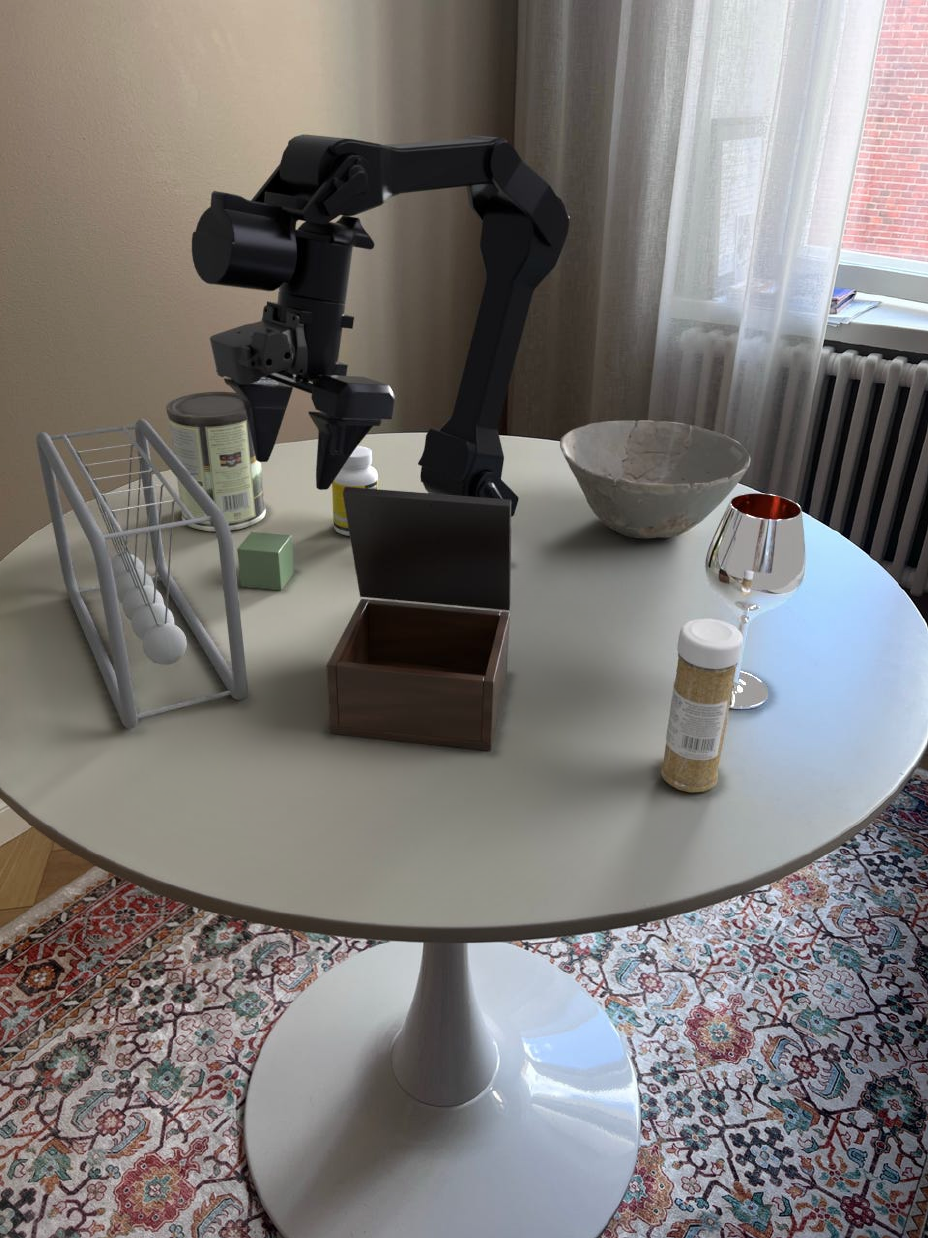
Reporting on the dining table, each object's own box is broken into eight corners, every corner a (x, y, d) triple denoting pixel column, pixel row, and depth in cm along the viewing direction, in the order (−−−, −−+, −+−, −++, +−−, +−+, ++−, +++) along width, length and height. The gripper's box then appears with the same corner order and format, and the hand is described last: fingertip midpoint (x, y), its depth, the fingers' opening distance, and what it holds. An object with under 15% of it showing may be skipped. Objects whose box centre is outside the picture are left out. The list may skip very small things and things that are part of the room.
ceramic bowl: (673, 482, 135) (682, 411, 130) (775, 551, 116) (791, 471, 111) (524, 501, 128) (528, 427, 123) (608, 578, 109) (616, 494, 104)
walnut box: (490, 751, 81) (493, 681, 78) (330, 733, 83) (326, 665, 79) (506, 676, 91) (510, 611, 88) (363, 661, 93) (360, 598, 89)
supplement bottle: (371, 540, 116) (369, 461, 112) (327, 535, 117) (323, 456, 113) (384, 522, 121) (382, 445, 116) (341, 517, 122) (338, 441, 117)
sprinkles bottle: (722, 769, 80) (749, 624, 73) (709, 802, 76) (737, 652, 69) (667, 753, 81) (689, 610, 75) (652, 785, 78) (673, 637, 71)
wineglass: (675, 666, 93) (702, 488, 84) (759, 664, 94) (795, 487, 85) (701, 716, 86) (733, 527, 77) (791, 713, 87) (833, 525, 78)
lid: (510, 506, 78) (511, 499, 78) (342, 493, 80) (344, 486, 80) (509, 610, 87) (510, 604, 88) (359, 597, 89) (361, 590, 90)
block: (254, 568, 109) (251, 531, 107) (294, 572, 109) (291, 534, 107) (240, 587, 105) (236, 548, 103) (281, 590, 105) (278, 552, 103)
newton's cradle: (251, 708, 86) (232, 519, 77) (128, 740, 81) (93, 544, 73) (164, 570, 109) (142, 412, 100) (65, 589, 104) (32, 426, 95)
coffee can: (223, 493, 128) (211, 385, 121) (283, 511, 123) (275, 400, 116) (162, 519, 120) (146, 406, 114) (224, 539, 116) (211, 423, 109)
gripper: (170, 269, 84) (157, 449, 90) (301, 306, 73) (277, 509, 78) (278, 284, 92) (260, 448, 97) (411, 319, 81) (383, 503, 86)
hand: (291, 474), depth 90 cm, fingers open, 9 cm apart
